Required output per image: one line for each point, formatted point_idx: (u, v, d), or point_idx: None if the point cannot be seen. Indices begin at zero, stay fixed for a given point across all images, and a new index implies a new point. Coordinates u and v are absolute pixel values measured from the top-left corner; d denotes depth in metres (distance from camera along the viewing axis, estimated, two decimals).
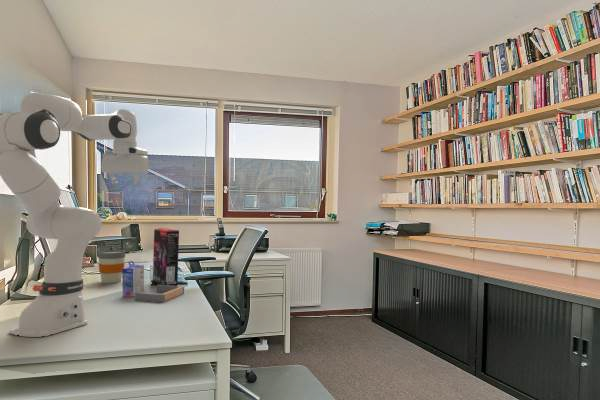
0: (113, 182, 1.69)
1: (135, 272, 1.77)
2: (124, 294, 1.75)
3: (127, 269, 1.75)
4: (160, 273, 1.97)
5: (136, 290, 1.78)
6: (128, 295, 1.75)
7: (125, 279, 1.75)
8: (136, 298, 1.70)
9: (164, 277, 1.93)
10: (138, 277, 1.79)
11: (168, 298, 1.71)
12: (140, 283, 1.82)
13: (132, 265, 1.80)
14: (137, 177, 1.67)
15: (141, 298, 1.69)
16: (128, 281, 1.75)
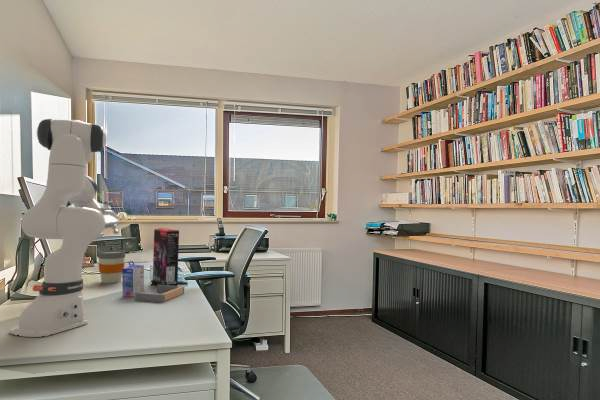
0: (102, 233, 1.79)
1: (135, 272, 1.77)
2: (124, 294, 1.75)
3: (127, 269, 1.75)
4: (160, 273, 1.97)
5: (136, 290, 1.78)
6: (128, 295, 1.75)
7: (125, 279, 1.75)
8: (136, 298, 1.70)
9: (164, 277, 1.93)
10: (138, 277, 1.79)
11: (168, 298, 1.71)
12: (140, 283, 1.82)
13: (132, 265, 1.80)
14: None
15: (141, 298, 1.69)
16: (128, 281, 1.75)
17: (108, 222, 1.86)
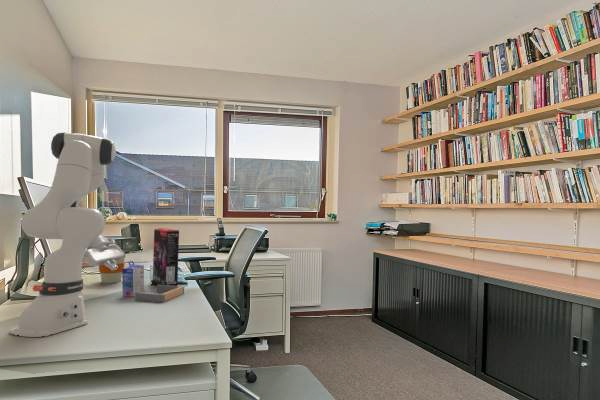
0: (114, 267, 1.82)
1: (135, 272, 1.77)
2: (124, 294, 1.75)
3: (127, 269, 1.75)
4: (160, 273, 1.97)
5: (136, 290, 1.78)
6: (128, 295, 1.75)
7: (125, 279, 1.75)
8: (136, 298, 1.70)
9: (164, 277, 1.93)
10: (138, 277, 1.79)
11: (168, 298, 1.71)
12: (140, 283, 1.82)
13: (132, 265, 1.80)
14: None
15: (141, 298, 1.69)
16: (128, 281, 1.75)
17: (113, 256, 1.85)
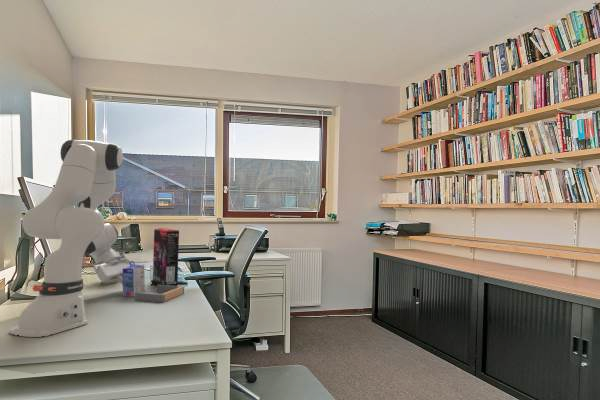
0: None
1: (136, 272, 1.77)
2: (124, 294, 1.75)
3: (127, 269, 1.75)
4: (160, 273, 1.97)
5: (136, 290, 1.77)
6: (128, 295, 1.75)
7: (126, 279, 1.75)
8: (136, 298, 1.70)
9: (164, 277, 1.93)
10: (138, 277, 1.79)
11: (168, 298, 1.71)
12: (141, 283, 1.82)
13: (132, 265, 1.80)
14: None
15: (141, 298, 1.69)
16: (128, 281, 1.75)
17: None
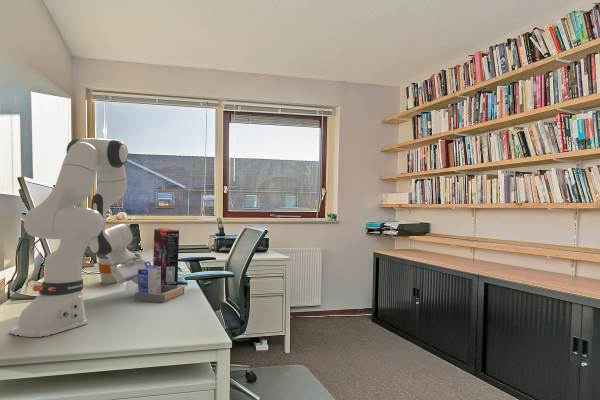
0: None
1: (151, 273, 1.75)
2: None
3: (142, 270, 1.74)
4: None
5: (151, 291, 1.75)
6: None
7: (141, 280, 1.74)
8: (136, 298, 1.70)
9: (164, 277, 1.93)
10: (153, 278, 1.77)
11: (168, 298, 1.71)
12: (157, 284, 1.79)
13: (148, 266, 1.78)
14: None
15: (141, 298, 1.69)
16: (143, 282, 1.73)
17: None
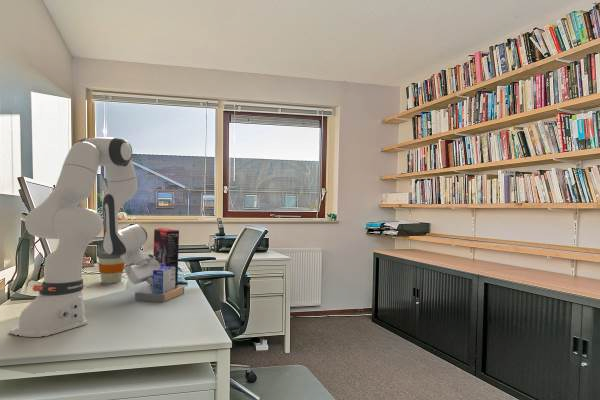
0: None
1: (166, 274, 1.74)
2: None
3: (157, 271, 1.72)
4: None
5: None
6: None
7: (156, 281, 1.72)
8: (136, 298, 1.70)
9: None
10: (168, 279, 1.75)
11: (168, 298, 1.71)
12: (171, 286, 1.78)
13: (163, 267, 1.77)
14: None
15: (141, 298, 1.69)
16: (158, 283, 1.72)
17: None
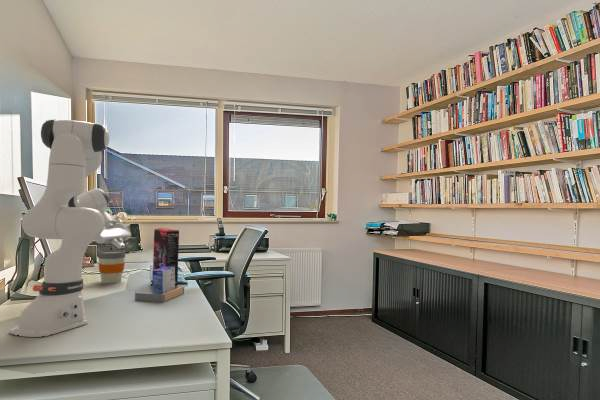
0: (121, 245, 1.81)
1: (165, 274, 1.74)
2: None
3: (157, 271, 1.72)
4: None
5: None
6: None
7: (155, 281, 1.72)
8: (136, 298, 1.70)
9: None
10: (168, 279, 1.75)
11: (168, 298, 1.71)
12: (171, 286, 1.78)
13: (162, 267, 1.77)
14: None
15: (141, 298, 1.69)
16: (158, 283, 1.72)
17: (120, 235, 1.84)
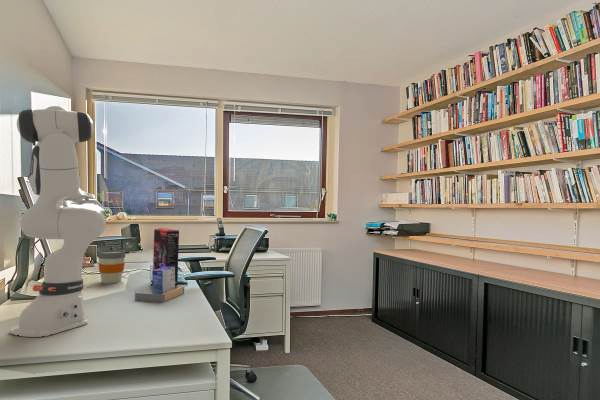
0: None
1: (165, 274, 1.74)
2: None
3: (157, 271, 1.72)
4: None
5: None
6: None
7: (155, 281, 1.72)
8: (136, 298, 1.70)
9: None
10: (168, 279, 1.75)
11: (168, 298, 1.71)
12: (171, 286, 1.78)
13: (163, 267, 1.77)
14: None
15: (141, 298, 1.69)
16: (158, 283, 1.72)
17: None
